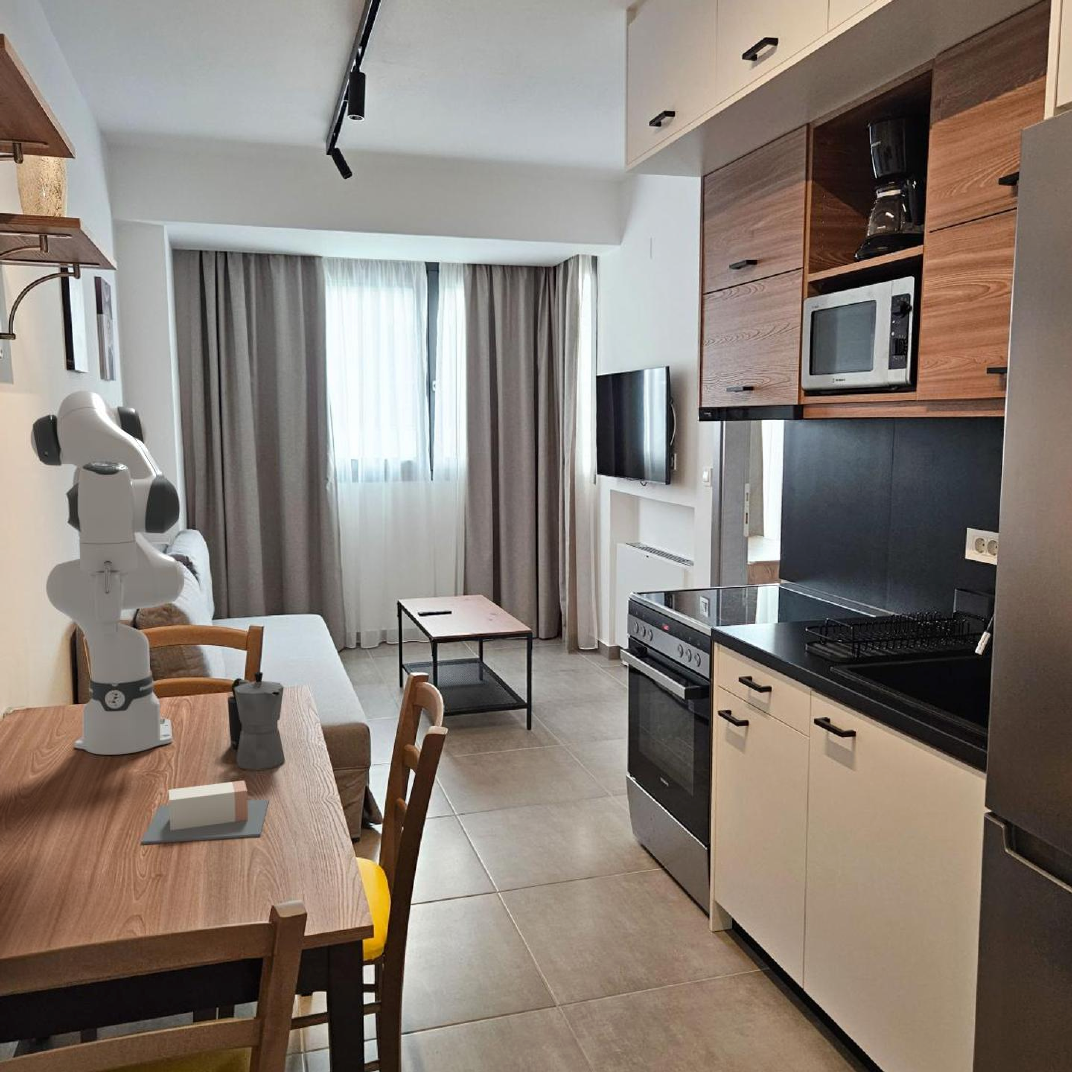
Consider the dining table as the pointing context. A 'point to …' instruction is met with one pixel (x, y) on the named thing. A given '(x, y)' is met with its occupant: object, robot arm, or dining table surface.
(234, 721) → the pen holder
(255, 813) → the mat
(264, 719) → the coffeepot
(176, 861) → the dining table surface
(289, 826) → the dining table surface
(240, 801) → the pillar
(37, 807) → the dining table surface
